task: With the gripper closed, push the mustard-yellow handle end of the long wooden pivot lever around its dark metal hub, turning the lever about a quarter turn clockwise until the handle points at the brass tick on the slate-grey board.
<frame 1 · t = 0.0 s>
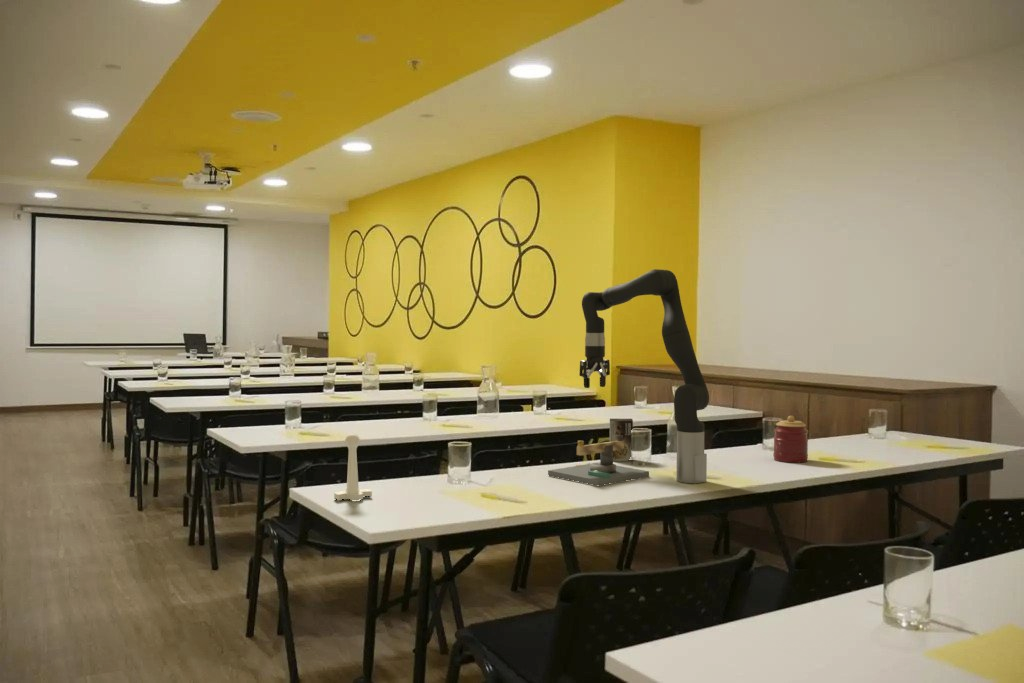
hand: (594, 387, 325), 29 cm above the table, tool pointing down, fingers open, 8 cm apart
wooden pivot lever: (600, 454, 298), point 8 cm above the table, hinge at 0.0°
joystick: (354, 500, 261), on the table
canister: (790, 460, 335), on the table
coffee box: (621, 460, 334), on the table
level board: (598, 476, 300), on the table
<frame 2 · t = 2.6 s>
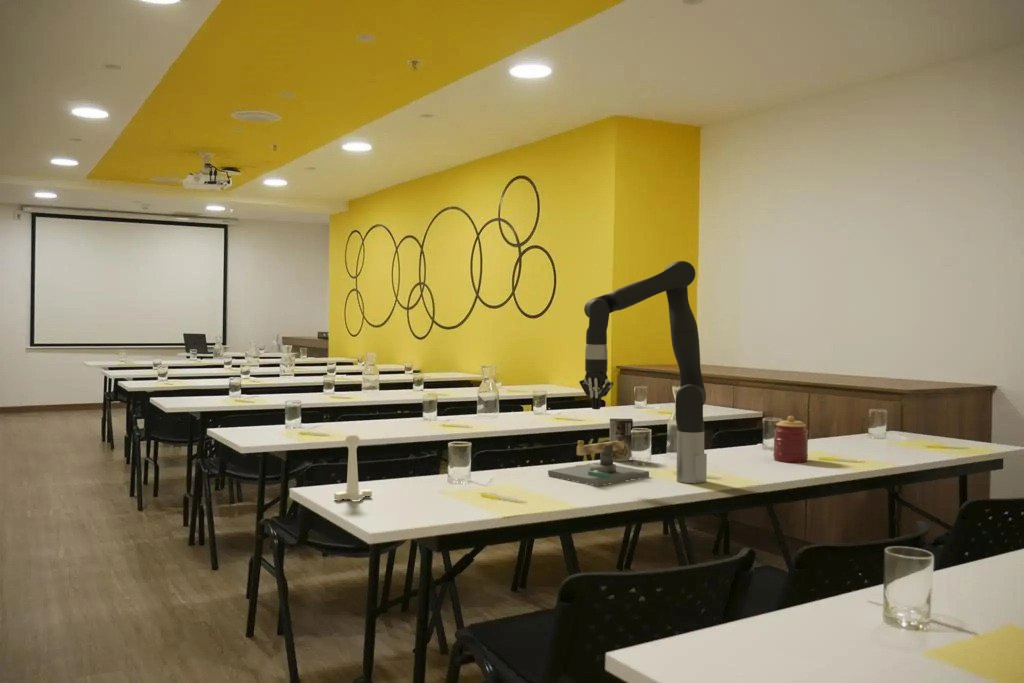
hand: (596, 409, 288), 25 cm above the table, tool pointing down, fingers closed
nothing on the table moved.
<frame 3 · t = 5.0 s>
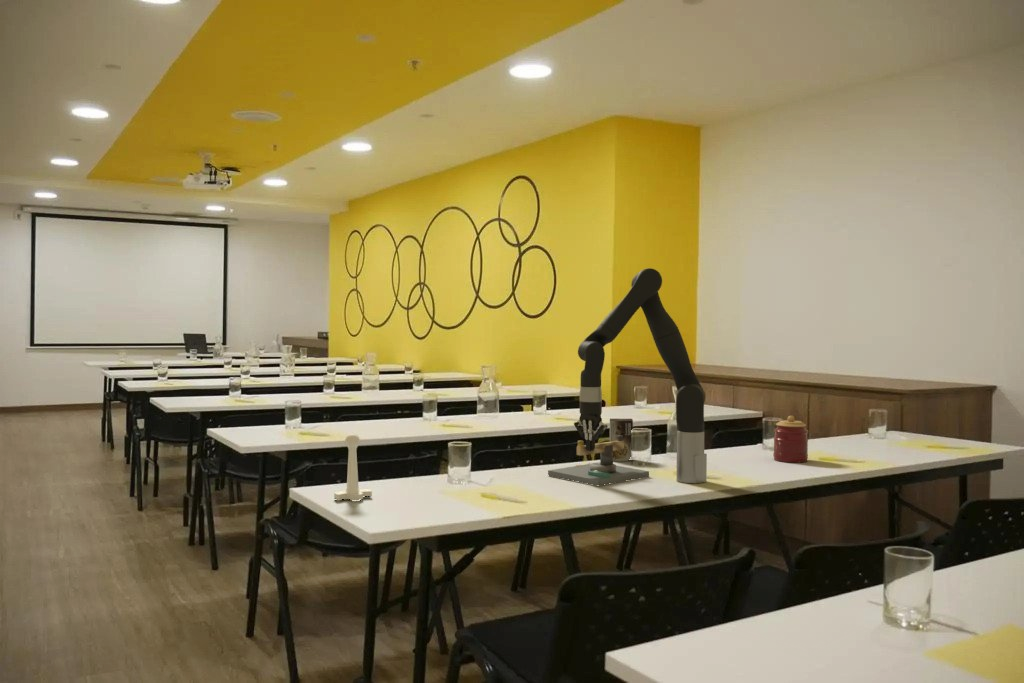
hand: (590, 450, 290), 11 cm above the table, tool pointing down, fingers closed
wooden pivot lever: (600, 454, 298), point 8 cm above the table, hinge at -0.1°, touching gripper
everything else where it was.
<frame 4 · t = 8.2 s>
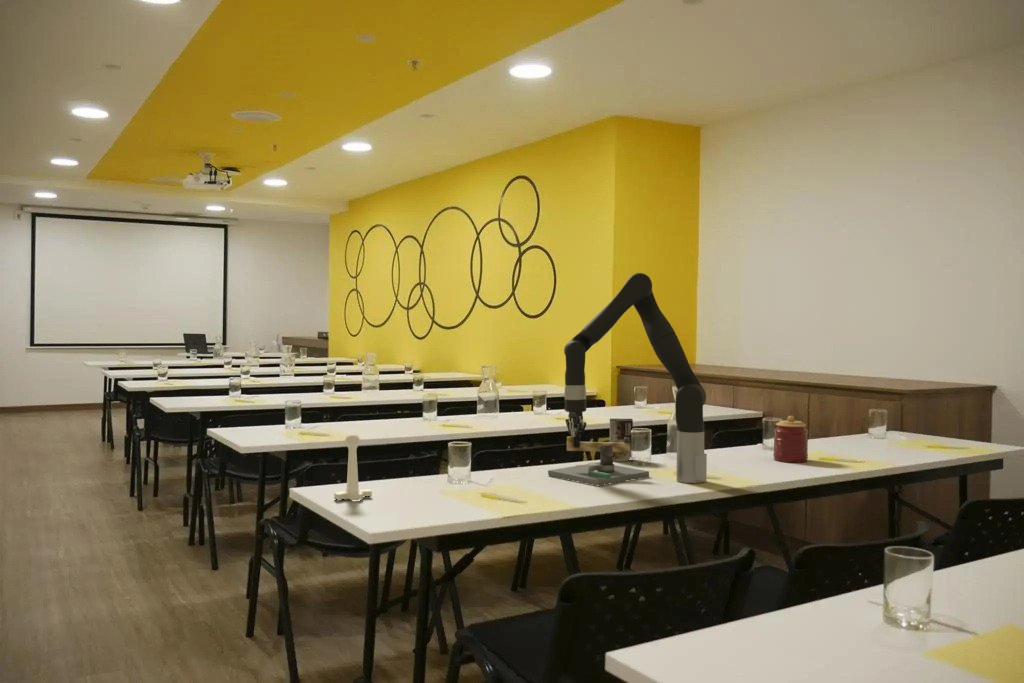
hand: (576, 447, 298), 11 cm above the table, tool pointing down, fingers closed
wooden pivot lever: (598, 453, 300), point 8 cm above the table, hinge at -47.5°, touching gripper
everything else where it was.
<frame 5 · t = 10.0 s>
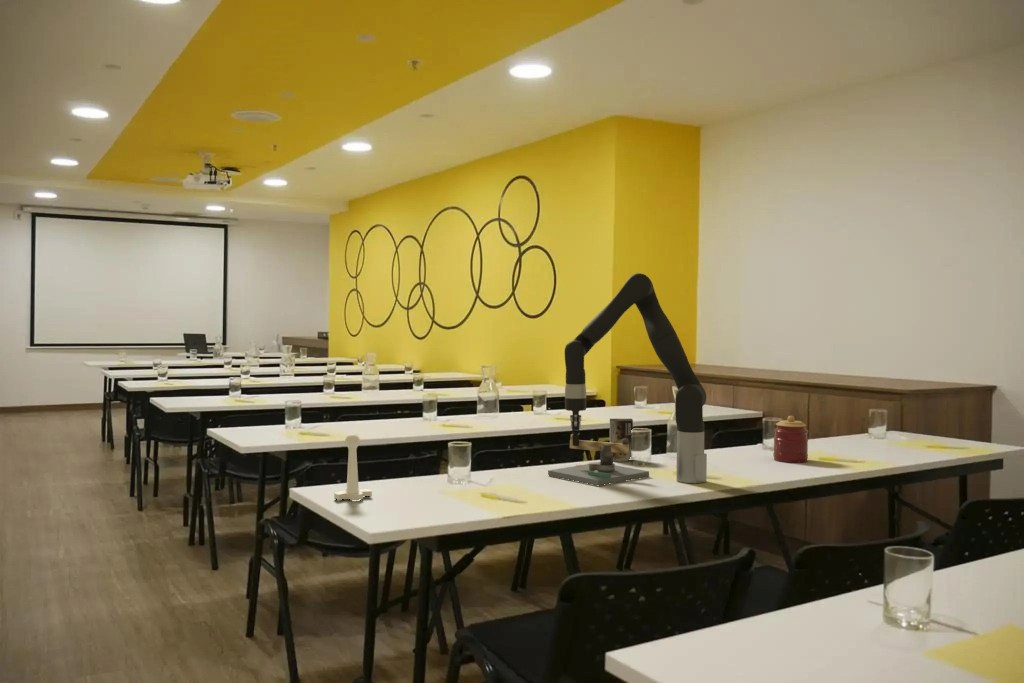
hand: (575, 445, 302), 10 cm above the table, tool pointing down, fingers closed
wooden pivot lever: (598, 453, 301), point 8 cm above the table, hinge at -71.1°, touching gripper
everything else where it was.
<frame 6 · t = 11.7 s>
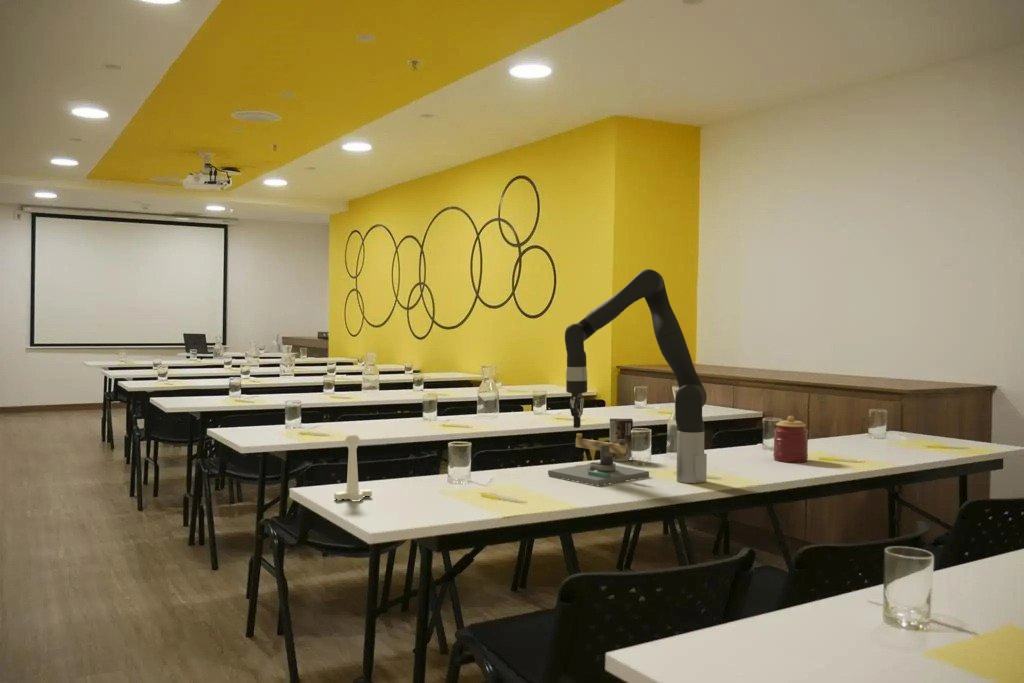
hand: (577, 427, 306), 16 cm above the table, tool pointing down, fingers closed
wooden pivot lever: (600, 452, 302), point 8 cm above the table, hinge at -88.0°
everything else where it was.
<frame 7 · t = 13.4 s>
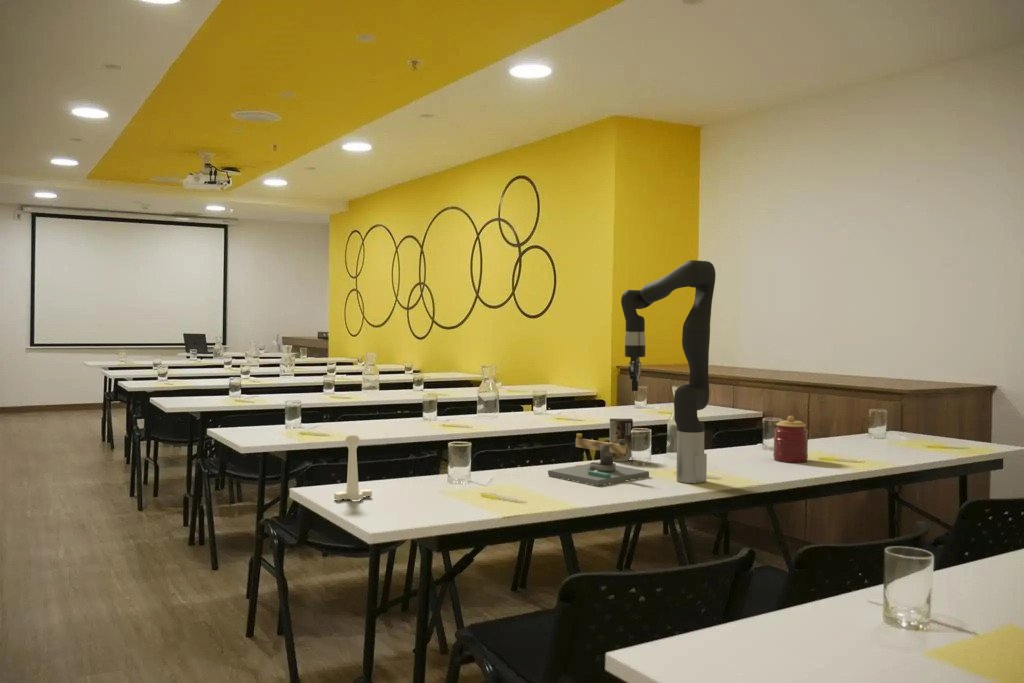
hand: (634, 391, 315), 29 cm above the table, tool pointing down, fingers closed
nothing on the table moved.
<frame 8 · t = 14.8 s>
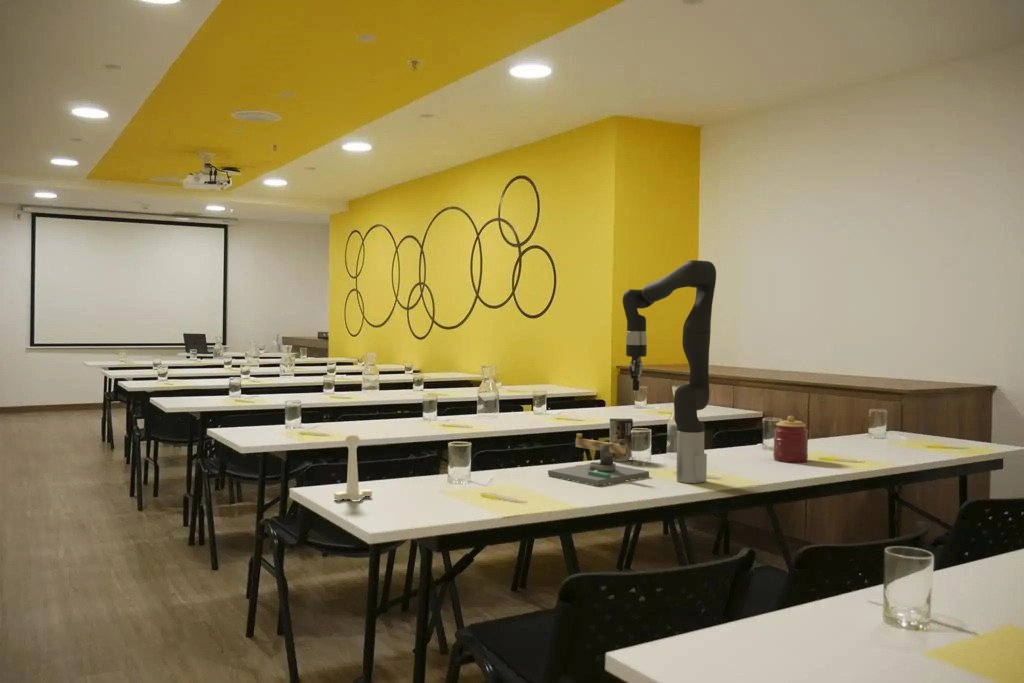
hand: (636, 390, 315), 29 cm above the table, tool pointing down, fingers closed
nothing on the table moved.
at the end: wooden pivot lever at -88° (first picture: +0°); wooden pivot lever touching nothing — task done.
